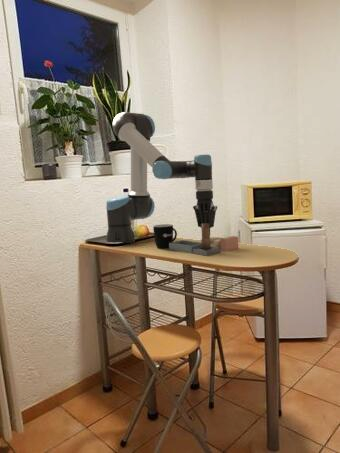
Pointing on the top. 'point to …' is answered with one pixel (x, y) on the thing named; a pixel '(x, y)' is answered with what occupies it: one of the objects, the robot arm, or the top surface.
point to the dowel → (205, 236)
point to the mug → (164, 235)
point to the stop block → (229, 243)
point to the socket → (206, 251)
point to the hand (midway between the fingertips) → (206, 242)
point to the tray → (184, 246)
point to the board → (214, 242)
